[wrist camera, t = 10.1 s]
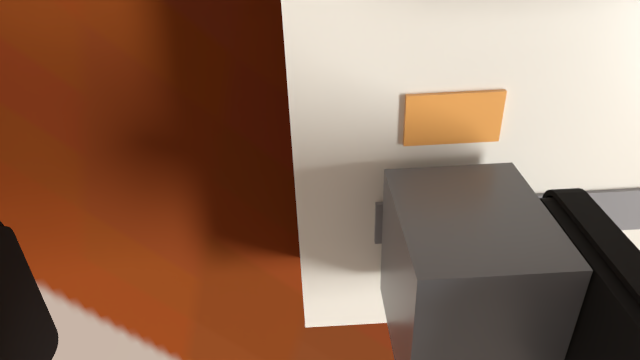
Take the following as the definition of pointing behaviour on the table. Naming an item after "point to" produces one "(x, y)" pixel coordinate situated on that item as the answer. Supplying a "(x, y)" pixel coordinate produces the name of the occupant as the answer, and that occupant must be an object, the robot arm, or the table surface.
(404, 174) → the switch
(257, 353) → the table surface
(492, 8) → the switch box
